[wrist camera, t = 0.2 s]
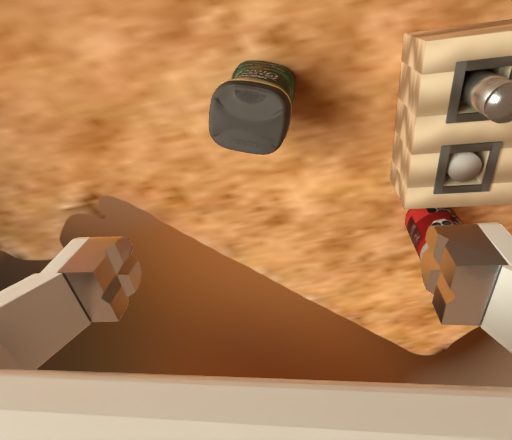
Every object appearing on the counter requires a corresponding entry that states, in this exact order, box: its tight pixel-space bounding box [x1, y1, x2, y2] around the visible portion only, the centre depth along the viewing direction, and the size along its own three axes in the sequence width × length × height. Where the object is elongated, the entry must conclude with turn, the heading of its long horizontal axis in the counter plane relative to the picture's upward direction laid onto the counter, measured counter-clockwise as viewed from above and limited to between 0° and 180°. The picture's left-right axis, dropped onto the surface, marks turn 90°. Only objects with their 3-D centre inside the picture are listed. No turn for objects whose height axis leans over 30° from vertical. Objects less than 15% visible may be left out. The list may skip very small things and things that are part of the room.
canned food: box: [405, 207, 463, 261], centre depth 56 cm, size 8×8×11 cm
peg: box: [460, 69, 512, 123], centre depth 39 cm, size 4×4×10 cm
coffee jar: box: [209, 61, 295, 155], centre depth 44 cm, size 10×8×19 cm
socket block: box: [390, 19, 512, 209], centre depth 46 cm, size 22×14×10 cm, turn 8°
